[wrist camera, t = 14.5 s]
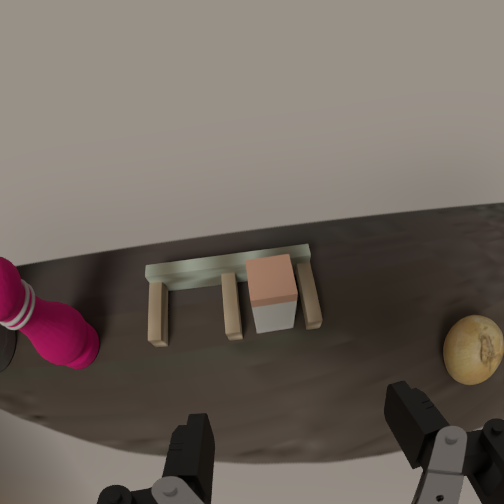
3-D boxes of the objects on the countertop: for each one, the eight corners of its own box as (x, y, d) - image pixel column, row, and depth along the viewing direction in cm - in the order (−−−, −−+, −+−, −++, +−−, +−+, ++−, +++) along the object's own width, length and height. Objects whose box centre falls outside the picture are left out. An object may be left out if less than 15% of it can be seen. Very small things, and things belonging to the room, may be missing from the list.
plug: (257, 333, 34) (250, 300, 26) (252, 300, 36) (245, 260, 28) (293, 327, 34) (297, 293, 26) (286, 295, 36) (289, 253, 28)
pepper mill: (51, 339, 34) (-56, 262, 18) (89, 309, 37) (-11, 214, 20) (71, 383, 31) (-55, 322, 14) (112, 352, 33) (-4, 269, 17)
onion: (428, 332, 32) (456, 308, 26) (477, 320, 32) (507, 296, 26) (441, 396, 27) (474, 384, 22) (491, 378, 27) (525, 363, 21)
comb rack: (155, 346, 34) (142, 336, 30) (157, 281, 38) (145, 265, 35) (319, 327, 34) (324, 314, 30) (305, 262, 38) (308, 243, 35)
